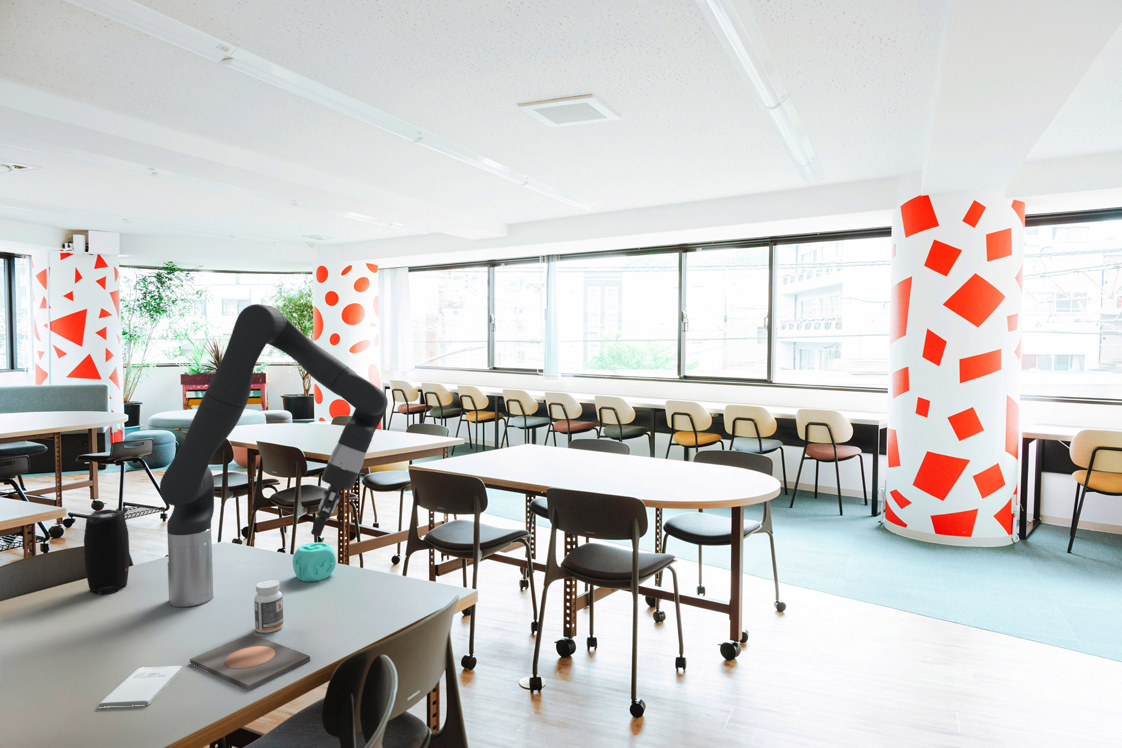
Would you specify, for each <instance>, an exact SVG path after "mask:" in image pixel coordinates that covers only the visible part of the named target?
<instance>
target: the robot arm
mask: <svg viewBox="0 0 1122 748" xmlns="http://www.w3.org/2000/svg"><path fill="white" fill-rule="evenodd" d="M266 345H269V346H271V347H273V348H276V349H277V350H280V351H281V352H282V353H285V354H287V355H288V356H289V357H291V358H292V359H293V360H294V361H295V362H296V363H298V364H299V366H300V367H301V368H302V369H303V370H304V371H305V372H306V373H307V374H308V375H310V377H312V378H313V379H314V380H316V381H317V382H318V383H319V384H320V385H322V386H323V387H325V388H326V389H327V390H329V391H330V392H332V393H333V394H335V395H337V396H339V397H341V398H342V399H343V400H344V401H346V403H348V404H349V405H351V406H352V407H353V408H354V411H353V413H352V415H351V418H350V421H349V422H348V423H346V424H345V426H344V428H343V430H342V433H341V434H340V437H339V439H338V441H337V444H336V445H335V447H334V449H333V450H332V452H331V455H330V456H329V459H328V461H327V464H326V466H325V467H324V468H325V469H324V471H323V473H322V475H321V478H320V479H321V480H322V482H325V483H327V484H329V486H328V488H327V489H324V491H323V493H322V495H321V500H320V503H319V505H318V512H317V515H316V518H315V521H314V522H313V525H312V529H311V531H310V533H311V535H312V536H316V537H320V536H321V535H322V533H323V531H324V528H325V526H326V525H327V521H328V520H329V519H330V518H331V514H333V513H334V512H335V509H336V506H337V505H338V504H339V502H340V500H341V497H342V495H341V494H340V493H339V492H340V490H341V489H344V490H347V491H351V490H353V488H354V486H355V483H356V480H357V478H358V477H359V474H360V472H361V469H362V467H363V465H364V460H365V458H366V453H367V452H368V451H369V448H370V444H371V443H372V441H373V440H372V439H373V438H374V435H375V434H374V433H375V432H376V430H377V428H378V426H379V425H380V423H381V421H382V419H383V417H384V415H385V412H386V411H387V408H388V405H389V404H388V397H387V395H386V394H385V393H384V392H383V390H381V388H379V387H377V386H376V385H375V384H373V383H371V382H370V381H369V380H367V379H365V378H364V377H362V376H360V375H359V374H358V373H356V371H354V370H353V369H352V368H350V367H349V366H348V365H346V364H345V363H343V362H342V361H341V360H339V359H338V358H337V357H336V356H334V355H333V354H331V353H329V352H328V351H326V350H325V348H324V349H323V348H322V346H321V347H320V346H319V345H318V344H317V343H315V342H314V341H312V340H311V339H310V338H309V337H308V336H307V335H306V334H304V333H303V332H302V331H301V330H300V329H299V328H297V327H296V326H295V324H294V323H293V322H292V321H290V319H289V318H288V317H287V316H286V315H284V313H283V312H282V311H281V310H279V309H278V308H276V307H274V306H271V305H267V304H257V303H255V304H251V305H248V306H246V307H244V308H243V309H242V310H241V311H240V313H239V314H238V316H237V318H236V320H235V324H234V326H233V328H232V332H231V335H230V338H229V340H228V343H227V346H226V349H225V351H224V354H223V357H222V359H221V360H220V362H219V364H218V366H217V369H216V370H215V372H214V374H213V377H212V379H211V381H210V382H209V385H208V386H207V388H206V389H205V390H206V391H204V395H203V397H202V399H201V401H200V403H199V405H198V408H197V410H196V412H195V414H194V416H193V418H192V421H191V423H190V426H189V427H188V430H187V432H186V435H185V437H184V440H183V441H182V444H181V445H180V447H179V449H178V451H177V453H175V456H174V457H173V459H172V461H171V462H170V464H169V465H168V467H167V469H166V470H165V472H164V474H163V476H162V477H161V479H160V483H159V493H160V496H161V498H162V499H163V500H164V502H165V503H166V504H168V505H170V506H173V508H172V509H173V510H172V513H171V515H170V517H169V519H168V520H167V523H166V529H167V533H166V535H167V553H168V554H167V555H168V559H167V560H168V562H167V578H168V579H167V580H168V581H167V583H168V585H167V586H168V600H169V605H171V606H173V607H177V608H188V607H193V606H198V605H202V604H204V603H205V604H206V603H207V602H209V601H211V599H213V598H214V574H213V573H214V572H213V569H214V567H213V543H212V542H213V541H212V519H213V516H214V512H215V480H214V475H213V472H212V470H211V469H210V467H209V464H210V463H211V460H212V459H213V458H214V457H213V456H214V455H215V453H216V452H217V451H218V449H219V448H220V447H221V446H222V445H223V443H224V442H225V441H226V439H227V438H229V436H230V435H231V433H232V431H233V430H234V429H235V427H236V426H237V424H238V422H239V420H240V419H241V417H242V415H243V412H244V411H245V408H246V406H247V404H248V402H249V399H250V395H251V389H252V383H253V373H254V369H255V366H256V364H257V362H258V359H259V357H260V356H261V354H262V352H263V351H264V349H265V347H266Z"/></svg>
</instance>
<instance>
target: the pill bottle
mask: <svg viewBox="0 0 1122 748" xmlns="http://www.w3.org/2000/svg"><path fill="white" fill-rule="evenodd" d="M279 589H280V581H279V580H274V579H273V580H272V579H270V580H269V579H268V580H264V581H261V582H259V583H258V582H257V584H256V586H255V592H256V594H255V596H254V598H253V599H254V600H253V601H254V602H253V605H254V606H253V607H254V609H253V610H254V626H255V627H254V628H255V631H256V632H257V633H260V634H270V633H273V632H277V631H279V630H281V629H282V627H283V626H284V606H283V605H284V603H283V602H284V601H283V600H284V599H283V593H282V592H281V591H280V590H279Z"/></svg>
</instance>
